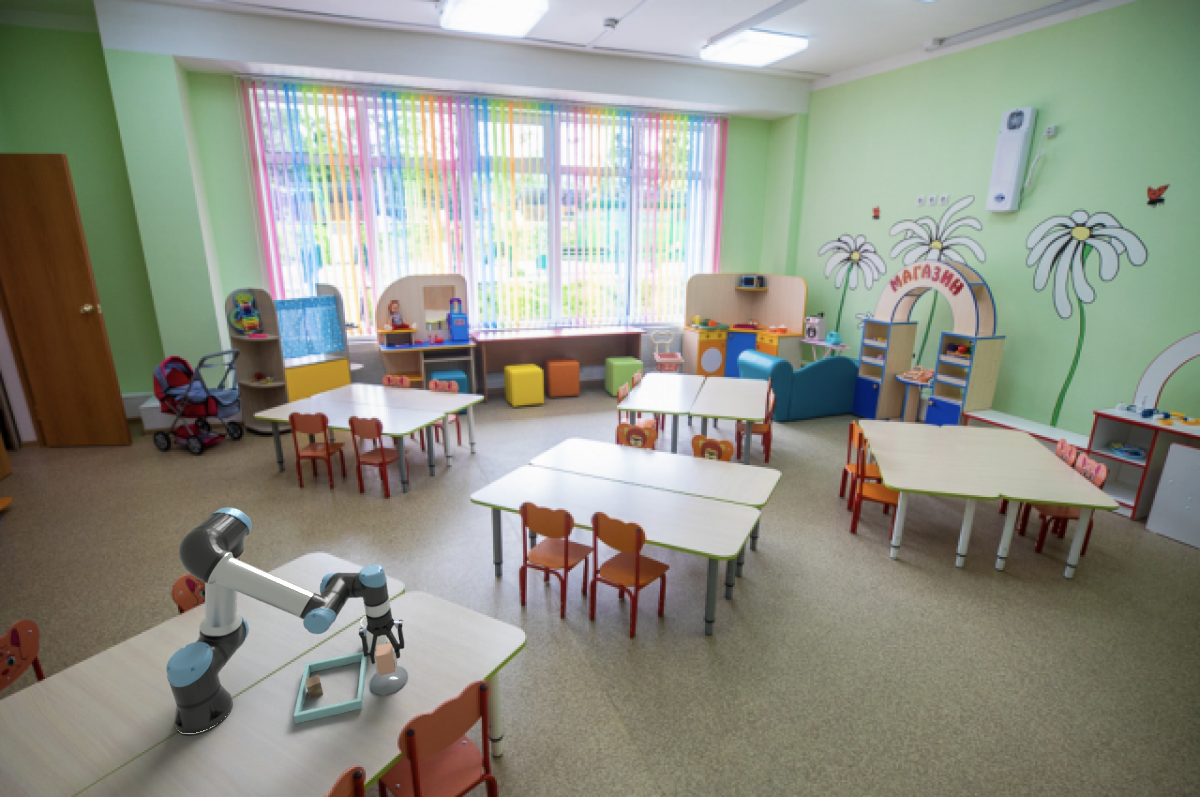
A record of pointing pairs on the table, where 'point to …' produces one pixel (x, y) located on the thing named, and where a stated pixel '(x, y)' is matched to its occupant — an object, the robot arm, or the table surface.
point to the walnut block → (314, 686)
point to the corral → (334, 708)
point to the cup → (380, 639)
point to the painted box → (385, 659)
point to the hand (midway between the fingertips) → (387, 667)
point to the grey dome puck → (389, 681)
